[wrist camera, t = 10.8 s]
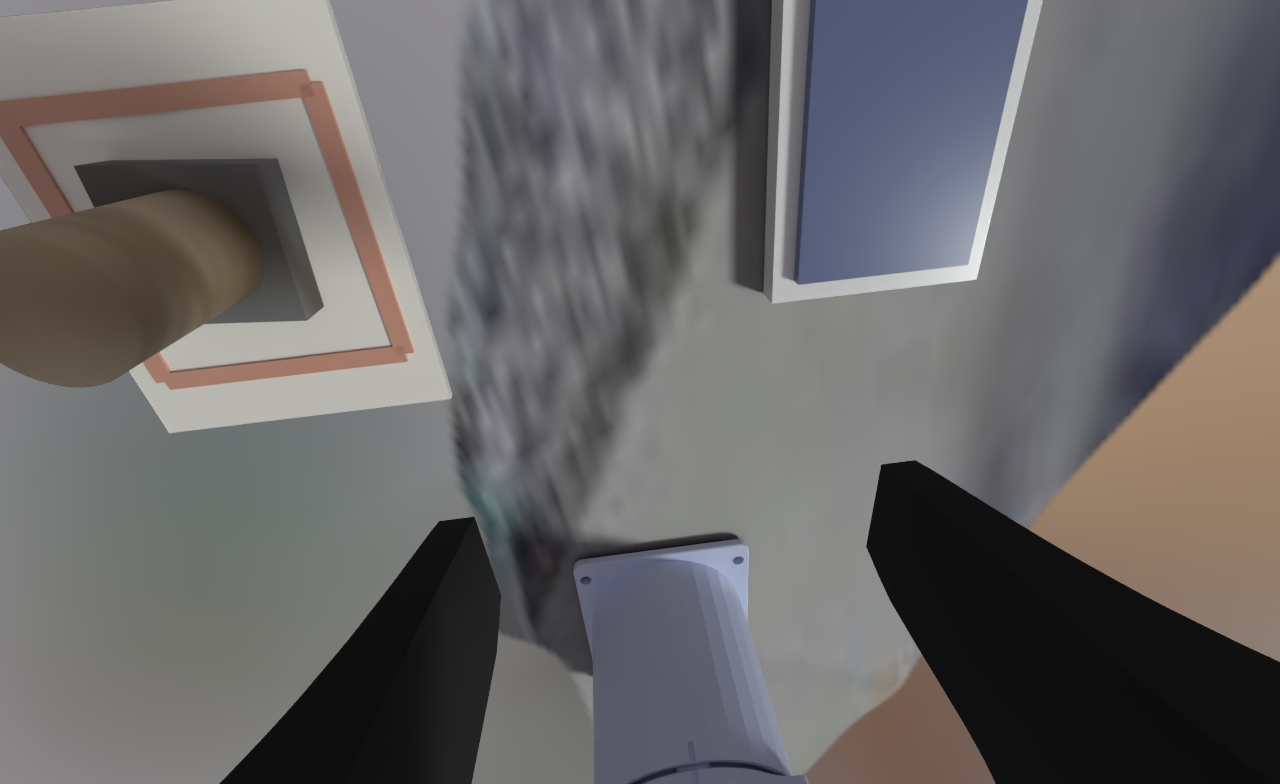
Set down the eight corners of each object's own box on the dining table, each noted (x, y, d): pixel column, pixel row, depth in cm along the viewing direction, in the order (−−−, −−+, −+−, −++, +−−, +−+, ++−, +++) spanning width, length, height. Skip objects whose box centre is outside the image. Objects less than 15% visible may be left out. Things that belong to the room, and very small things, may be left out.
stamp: (324, 306, 17) (204, 406, 12) (179, 310, 17) (-11, 416, 11) (277, 158, 15) (104, 198, 10) (110, 160, 15) (-167, 203, 9)
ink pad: (958, 270, 19) (984, 283, 18) (763, 293, 19) (775, 308, 17) (1029, -57, 14) (1071, -70, 13) (772, -32, 14) (790, -43, 13)
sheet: (452, 394, 19) (450, 400, 19) (174, 428, 19) (167, 434, 19) (325, -13, 13) (318, -15, 13) (-84, 27, 13) (-102, 26, 13)
